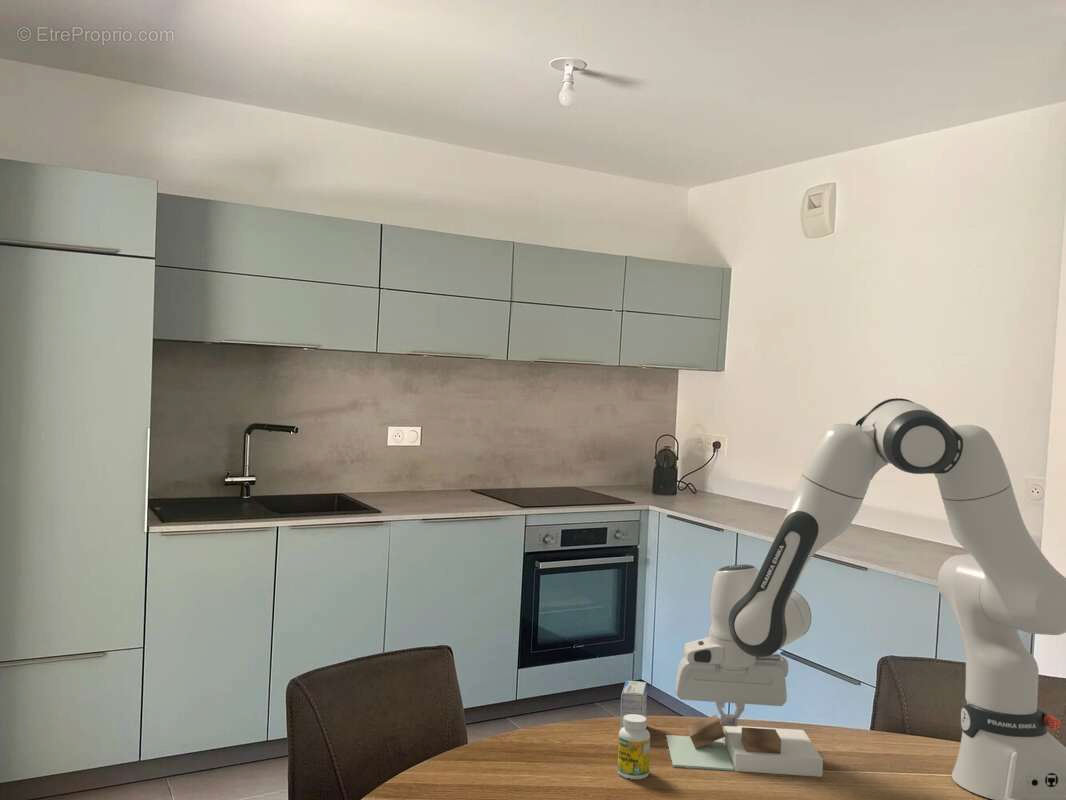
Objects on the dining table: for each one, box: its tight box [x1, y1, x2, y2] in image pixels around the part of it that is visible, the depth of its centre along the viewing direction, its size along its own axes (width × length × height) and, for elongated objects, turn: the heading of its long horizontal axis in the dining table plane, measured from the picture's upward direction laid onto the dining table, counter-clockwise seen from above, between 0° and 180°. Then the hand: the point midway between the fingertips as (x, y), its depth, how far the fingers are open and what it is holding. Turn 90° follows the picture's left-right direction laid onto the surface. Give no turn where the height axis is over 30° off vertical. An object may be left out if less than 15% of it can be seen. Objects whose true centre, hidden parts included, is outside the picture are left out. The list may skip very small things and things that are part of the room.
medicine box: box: [619, 680, 648, 731], centre depth 172 cm, size 8×4×9 cm, turn 168°
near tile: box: [741, 727, 781, 754], centre depth 159 cm, size 6×5×2 cm
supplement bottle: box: [617, 714, 651, 780], centre depth 152 cm, size 5×5×10 cm
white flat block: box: [722, 725, 824, 778], centre depth 162 cm, size 15×14×3 cm
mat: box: [665, 734, 735, 772], centre depth 163 cm, size 11×14×1 cm
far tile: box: [687, 714, 725, 749], centre depth 166 cm, size 6×5×2 cm
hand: (728, 725), depth 165 cm, fingers closed
